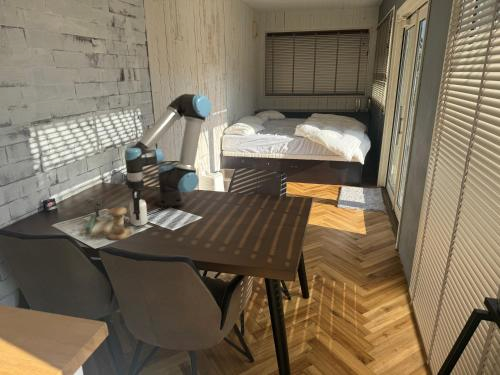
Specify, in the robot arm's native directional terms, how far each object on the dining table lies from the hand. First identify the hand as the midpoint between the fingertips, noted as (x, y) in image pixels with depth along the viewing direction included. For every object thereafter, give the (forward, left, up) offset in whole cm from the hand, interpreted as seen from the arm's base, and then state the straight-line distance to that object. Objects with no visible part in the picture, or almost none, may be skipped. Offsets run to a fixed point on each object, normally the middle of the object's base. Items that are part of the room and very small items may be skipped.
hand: (139, 220), depth 178 cm
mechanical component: (+23, -15, -2) cm, 27 cm away
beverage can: (0, 0, -2) cm, 2 cm away
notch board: (+16, +2, -1) cm, 16 cm away
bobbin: (+8, +13, -1) cm, 15 cm away
